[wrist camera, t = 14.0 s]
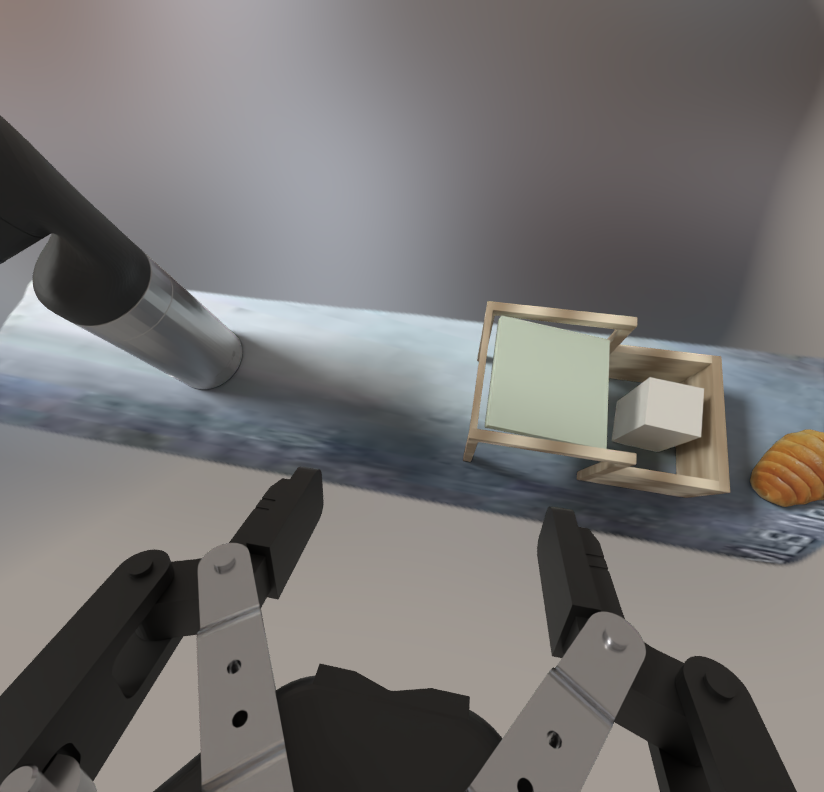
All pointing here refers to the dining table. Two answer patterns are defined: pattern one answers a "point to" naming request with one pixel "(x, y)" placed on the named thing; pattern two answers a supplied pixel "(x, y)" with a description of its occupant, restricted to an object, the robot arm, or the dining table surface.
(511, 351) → the trapdoor
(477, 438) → the trapdoor frame
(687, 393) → the white rectangular block
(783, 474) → the pastry
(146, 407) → the dining table surface
